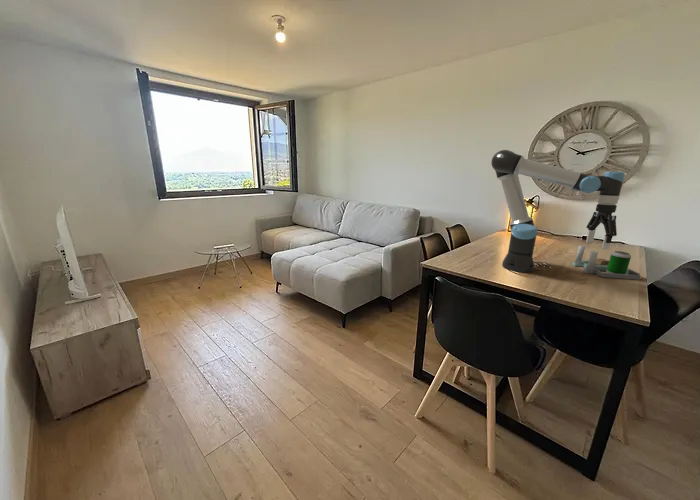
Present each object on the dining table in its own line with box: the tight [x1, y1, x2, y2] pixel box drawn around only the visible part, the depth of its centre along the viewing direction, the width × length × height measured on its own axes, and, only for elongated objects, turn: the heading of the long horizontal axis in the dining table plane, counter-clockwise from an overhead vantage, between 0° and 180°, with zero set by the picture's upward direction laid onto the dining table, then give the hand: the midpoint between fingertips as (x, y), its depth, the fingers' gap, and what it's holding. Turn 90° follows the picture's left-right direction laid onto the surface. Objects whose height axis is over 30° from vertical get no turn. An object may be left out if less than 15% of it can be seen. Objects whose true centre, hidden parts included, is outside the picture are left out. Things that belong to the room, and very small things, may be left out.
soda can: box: [606, 250, 632, 274], centre depth 148 cm, size 8×8×12 cm
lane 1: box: [571, 245, 608, 269], centre depth 160 cm, size 21×9×11 cm, turn 78°
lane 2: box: [583, 250, 642, 281], centre depth 149 cm, size 21×12×11 cm, turn 78°
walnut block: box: [595, 258, 609, 266], centre depth 160 cm, size 4×4×4 cm
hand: (596, 245), depth 148 cm, fingers open, 13 cm apart
